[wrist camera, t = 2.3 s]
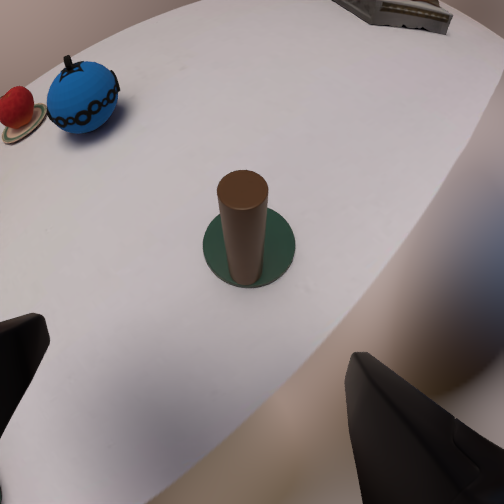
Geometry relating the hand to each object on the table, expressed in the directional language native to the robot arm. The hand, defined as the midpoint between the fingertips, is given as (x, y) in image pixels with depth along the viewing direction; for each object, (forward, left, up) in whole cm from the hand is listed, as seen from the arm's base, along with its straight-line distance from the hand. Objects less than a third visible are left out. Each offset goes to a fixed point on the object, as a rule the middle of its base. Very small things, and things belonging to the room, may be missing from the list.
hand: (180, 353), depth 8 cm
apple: (+41, -10, -14) cm, 44 cm away
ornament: (+28, -14, -14) cm, 34 cm away
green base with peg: (+4, -10, -13) cm, 17 cm away
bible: (+8, -78, -14) cm, 80 cm away
